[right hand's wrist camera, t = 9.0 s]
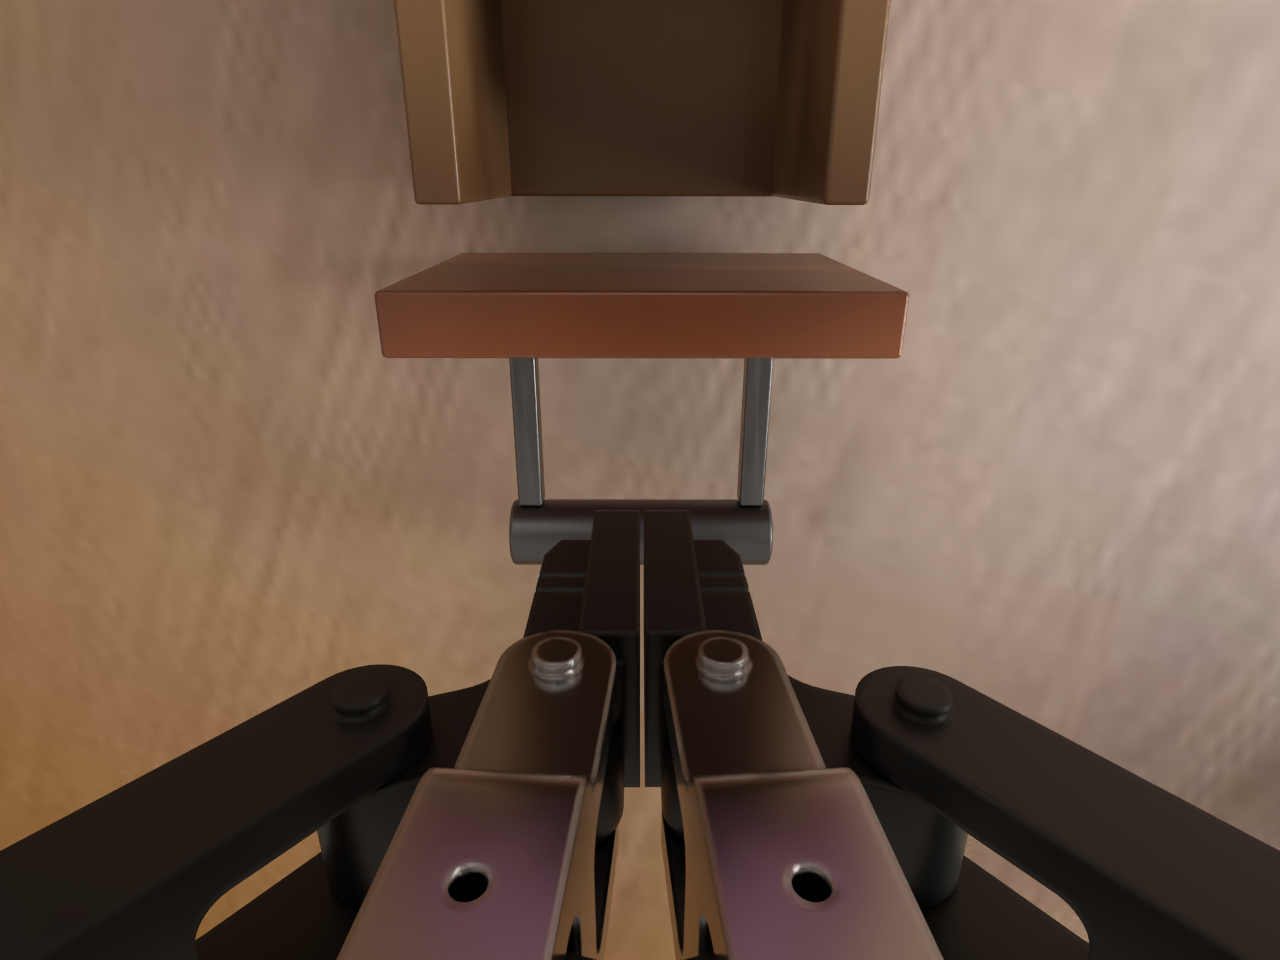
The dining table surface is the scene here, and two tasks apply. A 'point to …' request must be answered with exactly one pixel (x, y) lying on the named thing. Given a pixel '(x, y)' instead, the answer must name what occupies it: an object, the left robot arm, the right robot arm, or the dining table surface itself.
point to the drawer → (641, 166)
